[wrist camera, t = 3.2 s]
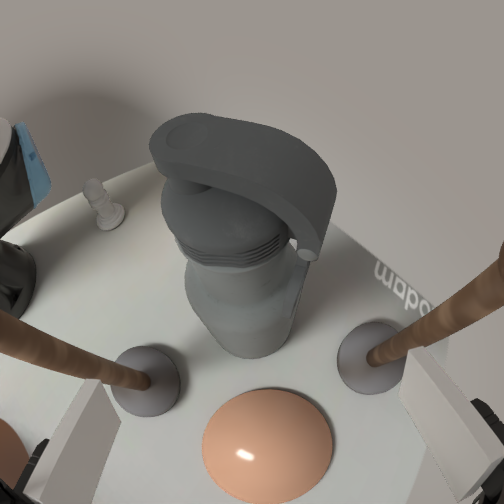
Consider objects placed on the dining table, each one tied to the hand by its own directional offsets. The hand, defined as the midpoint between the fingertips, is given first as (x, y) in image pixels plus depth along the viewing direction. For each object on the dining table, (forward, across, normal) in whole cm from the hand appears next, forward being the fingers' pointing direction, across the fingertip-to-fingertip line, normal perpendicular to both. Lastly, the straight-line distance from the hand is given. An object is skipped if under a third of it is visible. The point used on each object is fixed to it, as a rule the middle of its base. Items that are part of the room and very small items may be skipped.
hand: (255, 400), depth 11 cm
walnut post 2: (+19, +14, -15) cm, 28 cm away
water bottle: (+24, 0, -10) cm, 26 cm away
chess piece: (+37, -22, +4) cm, 43 cm away
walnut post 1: (+19, -14, -15) cm, 28 cm away
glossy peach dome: (+12, 0, -21) cm, 25 cm away
